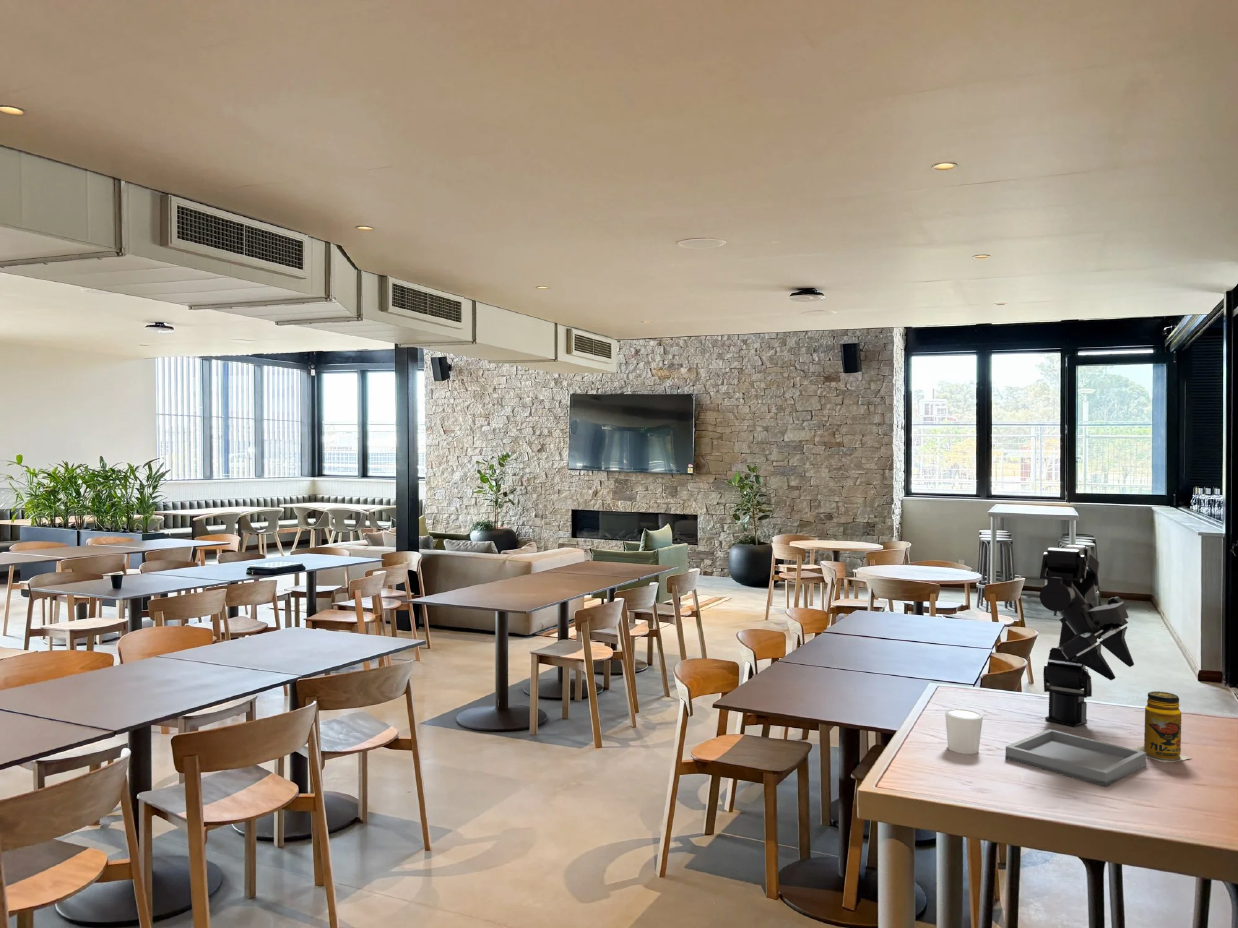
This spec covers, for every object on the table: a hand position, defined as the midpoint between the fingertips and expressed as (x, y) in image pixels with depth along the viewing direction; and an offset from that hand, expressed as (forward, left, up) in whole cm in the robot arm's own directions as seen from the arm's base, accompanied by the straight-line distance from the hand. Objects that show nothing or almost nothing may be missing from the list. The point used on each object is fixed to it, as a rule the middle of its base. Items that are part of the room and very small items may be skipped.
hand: (1122, 672), depth 182 cm
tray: (-1, -20, -14) cm, 24 cm away
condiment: (+7, -2, -15) cm, 16 cm away
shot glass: (-18, -30, -14) cm, 37 cm away
